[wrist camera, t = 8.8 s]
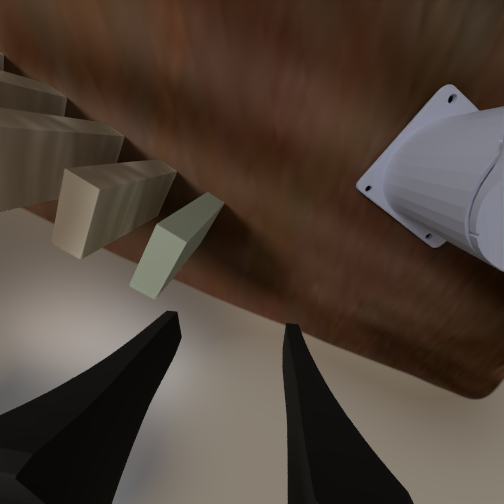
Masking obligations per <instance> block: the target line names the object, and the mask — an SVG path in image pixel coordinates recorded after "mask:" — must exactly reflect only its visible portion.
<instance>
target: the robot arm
mask: <svg viewBox="0 0 504 504" xmlns="http://www.w3.org/2000/svg"><path fill="white" fill-rule="evenodd" d="M449 96H452V97H453V100H452V102H451V103H448V98H449ZM367 186H370V190H369V191H365V188H366V187H367ZM356 188H357V189H358V190H359V191H360V192H361V193H363V194H364V195H365V196H366V197H368V198H369V199H370V200H372V201H373V202H374V203H375V204H377V205H378V206H379V207H381V208H382V209H383V210H384V211H386V212H387V213H388V214H390V215H391V216H392V217H393V218H395V219H396V220H397V221H399V222H400V223H401V224H402V225H404V226H405V227H406V228H408V229H409V230H410V231H411V232H413V233H414V234H415V235H416V236H418V237H419V238H420V239H422V240H423V241H424V242H425V243H427V244H428V245H429V246H431V247H433V248H437V247H439V246H441V245H442V244H443V243H445V242H446V241H448V242H450V243H452V244H453V245H455V246H457V247H459V248H461V249H462V250H464V251H466V252H468V253H470V254H471V255H473V256H475V257H477V258H479V259H480V260H482V261H484V262H486V263H488V264H490V265H491V266H493V267H495V268H497V269H499V270H500V271H502V272H504V107H499V108H493V109H488V110H482V111H479V110H478V109H477V108H476V107H475V106H474V105H473V104H472V103H471V102H470V101H469V100H468V99H467V98H466V97H465V96H464V95H463V94H462V93H461V92H460V91H459V90H458V89H457V88H456V87H455V86H454V85H446V86H444V87H441V88H440V89H439V90H438V91H437V92H436V93H435V95H434V96H433V97H432V98H431V99H430V100H429V101H428V102H427V104H426V105H425V106H424V107H423V108H422V109H421V110H420V112H419V113H418V114H417V115H416V116H415V117H414V118H413V119H412V121H411V122H410V123H409V124H408V125H407V126H406V127H405V128H404V130H403V131H402V132H401V133H400V134H399V135H398V136H397V138H396V139H395V140H394V141H393V142H392V143H391V144H390V145H389V147H388V148H387V149H386V150H385V151H384V152H383V153H382V154H381V156H380V157H379V158H378V159H377V160H376V161H375V162H374V164H373V165H372V166H371V167H370V168H369V169H368V170H367V171H366V173H365V174H364V175H363V176H362V177H361V178H360V179H359V180H358V182H357V184H356ZM428 234H430V235H429V236H428V237H426V235H428ZM181 338H182V336H181V330H180V325H179V319H178V313H177V312H175V311H166V312H165V313H164V314H162V315H161V316H160V317H159V318H158V319H156V320H155V321H154V322H153V323H151V324H150V325H149V326H148V327H146V328H145V329H144V330H143V331H141V332H140V333H139V334H138V335H136V336H135V337H134V338H133V339H131V340H130V341H129V342H127V343H126V344H125V345H124V346H122V347H121V348H119V349H118V350H117V351H115V352H114V353H112V354H111V355H110V356H108V357H107V358H105V359H104V360H102V361H100V362H99V363H97V364H96V365H94V366H93V367H91V368H90V369H88V370H86V371H85V372H83V373H81V374H79V375H78V376H76V377H74V378H72V379H71V380H69V381H67V382H66V383H64V384H62V385H60V386H59V387H57V388H55V389H53V390H51V391H49V392H48V393H45V394H43V395H41V396H40V397H37V398H35V399H34V400H31V401H29V402H27V403H25V404H23V405H21V406H19V407H17V408H15V409H12V410H10V411H8V412H6V413H4V414H2V415H0V504H112V501H113V498H114V495H115V492H116V490H117V486H118V484H119V481H120V478H121V475H122V473H123V470H124V467H125V465H126V462H127V459H128V457H129V454H130V451H131V449H132V446H133V443H134V441H135V439H136V436H137V433H138V431H139V429H140V426H141V424H142V421H143V419H144V416H145V414H146V412H147V409H148V407H149V405H150V403H151V401H152V399H153V396H154V394H155V393H156V391H157V389H158V387H159V385H160V383H161V381H162V379H163V377H164V375H165V373H166V372H167V370H168V368H169V366H170V363H171V362H172V360H173V358H174V356H175V354H176V351H177V349H178V346H179V343H180V341H181ZM283 378H284V379H283V380H284V391H285V402H286V413H287V444H288V445H287V447H288V504H414V503H413V501H412V499H411V497H410V495H409V493H408V491H407V490H406V489H405V488H404V487H403V486H402V484H401V483H400V482H399V481H398V480H397V479H396V477H395V476H394V475H393V474H392V473H391V472H390V470H389V469H388V468H387V467H386V466H385V464H384V463H383V462H382V461H381V460H380V458H379V457H378V456H377V455H376V453H375V452H374V451H373V450H372V449H371V447H370V446H369V445H368V443H367V442H366V441H365V439H364V438H363V437H362V435H361V434H360V433H359V431H358V430H357V429H356V427H355V426H354V425H353V423H352V422H351V420H350V419H349V418H348V417H347V415H346V414H345V412H344V411H343V409H342V408H341V406H340V405H339V403H338V402H337V400H336V399H335V397H334V396H333V394H332V392H331V391H330V389H329V387H328V386H327V384H326V382H325V381H324V379H323V377H322V375H321V373H320V372H319V370H318V368H317V366H316V364H315V362H314V360H313V358H312V356H311V354H310V352H309V350H308V348H307V345H306V343H305V341H304V338H303V336H302V333H301V330H300V327H299V325H298V324H290V323H286V328H285V335H284V343H283Z"/></svg>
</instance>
